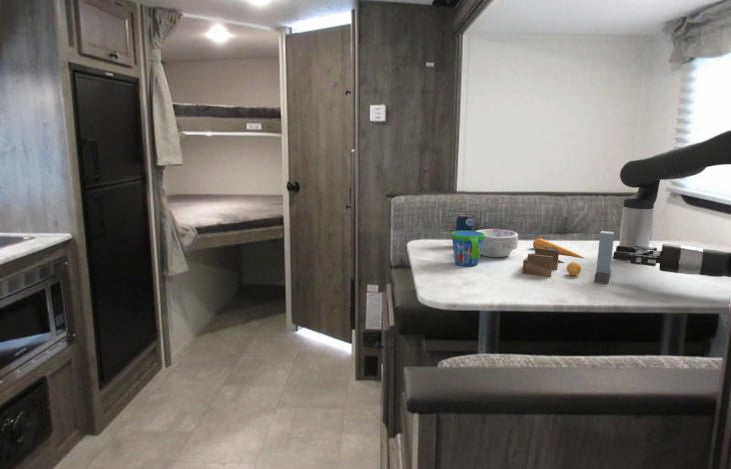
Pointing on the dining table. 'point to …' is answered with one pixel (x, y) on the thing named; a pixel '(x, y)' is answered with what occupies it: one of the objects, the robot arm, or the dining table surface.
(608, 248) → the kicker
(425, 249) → the dining table surface
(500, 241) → the paper bowls
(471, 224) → the soda can
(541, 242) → the carrot
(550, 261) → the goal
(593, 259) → the dining table surface
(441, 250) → the dining table surface
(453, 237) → the snack cup
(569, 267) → the ball
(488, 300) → the dining table surface
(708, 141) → the robot arm
